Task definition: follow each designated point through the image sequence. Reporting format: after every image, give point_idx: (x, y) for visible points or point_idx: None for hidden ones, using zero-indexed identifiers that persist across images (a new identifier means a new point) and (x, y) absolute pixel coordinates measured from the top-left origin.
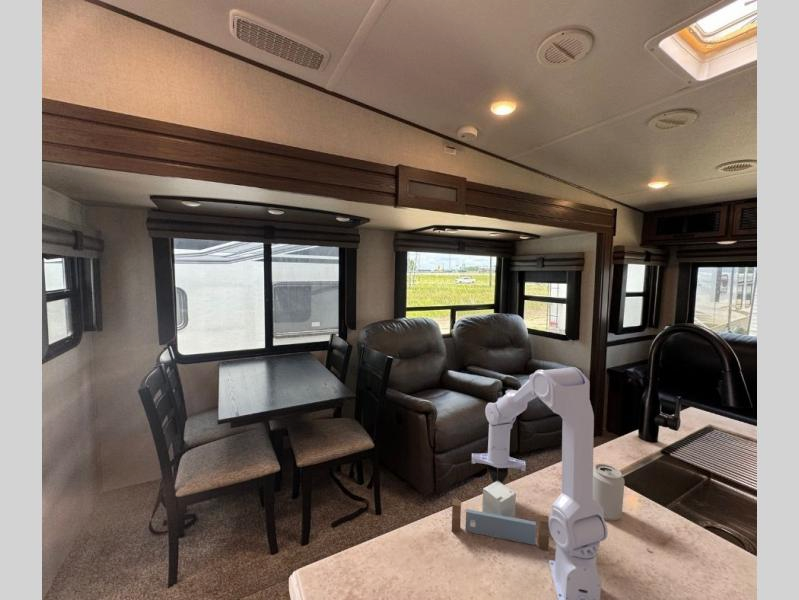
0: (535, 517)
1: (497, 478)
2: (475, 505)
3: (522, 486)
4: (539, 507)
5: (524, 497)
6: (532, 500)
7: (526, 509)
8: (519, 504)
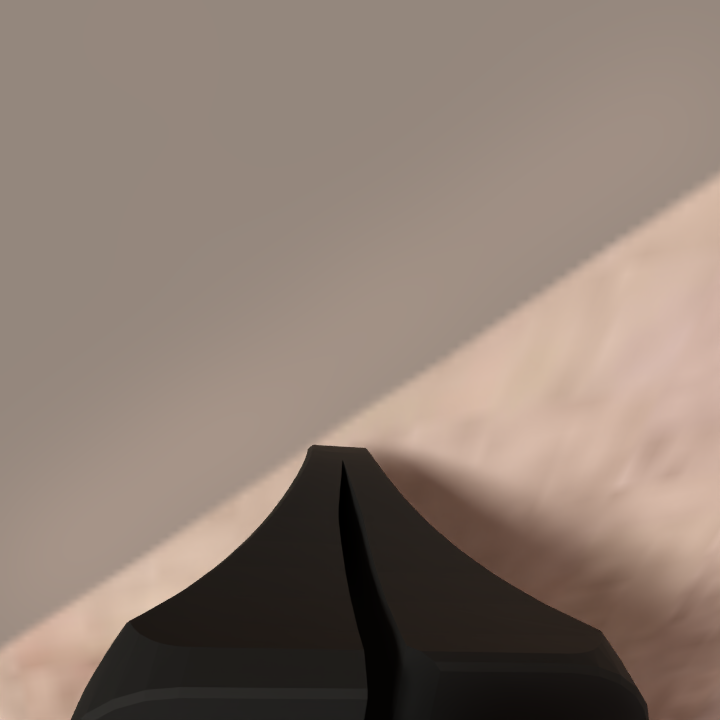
0: (606, 618)
1: (353, 520)
2: (116, 595)
3: (677, 236)
4: (696, 515)
5: (618, 415)
6: (678, 442)
7: (570, 556)
8: (531, 512)
